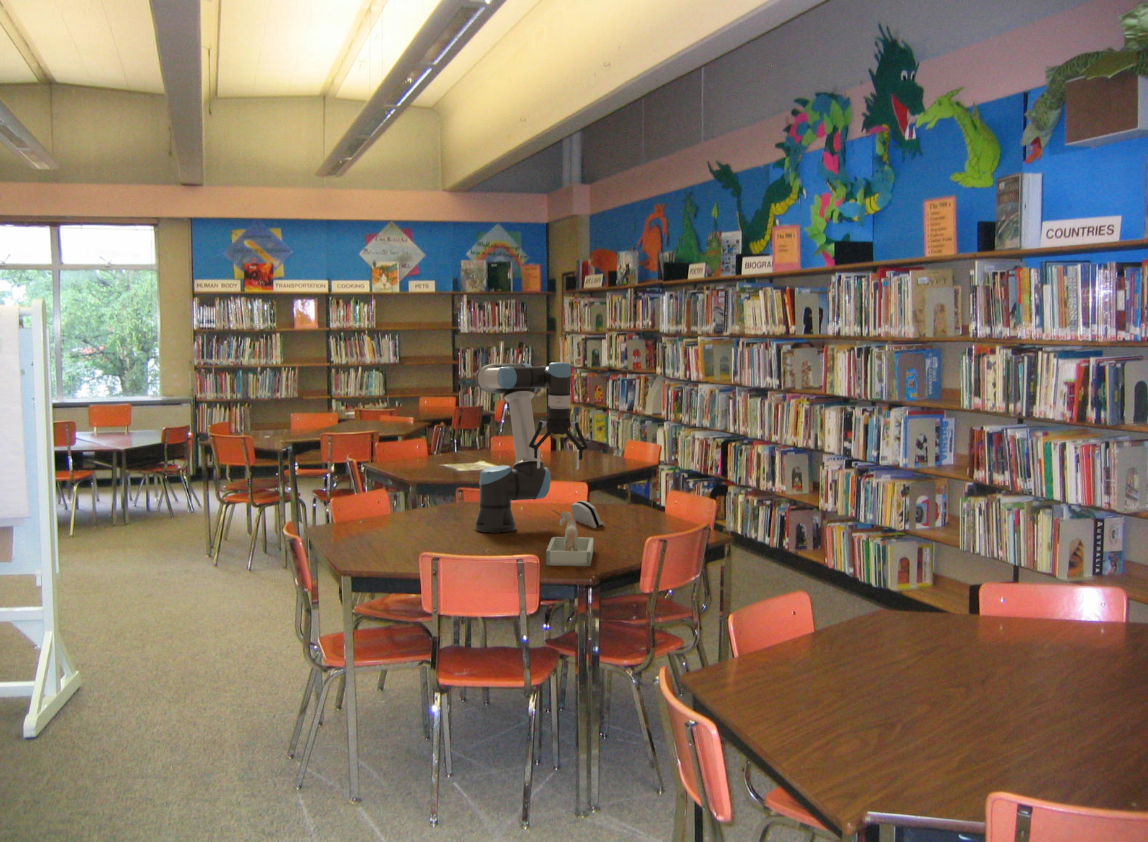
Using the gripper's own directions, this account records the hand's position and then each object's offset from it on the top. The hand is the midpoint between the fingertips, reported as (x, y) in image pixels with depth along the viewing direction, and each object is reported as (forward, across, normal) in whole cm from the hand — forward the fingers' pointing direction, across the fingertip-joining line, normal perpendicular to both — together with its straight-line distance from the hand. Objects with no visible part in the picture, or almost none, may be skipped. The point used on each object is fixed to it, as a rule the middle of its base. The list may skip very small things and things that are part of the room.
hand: (558, 468), depth 337 cm
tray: (+26, +6, -22) cm, 34 cm away
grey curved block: (+28, +8, +36) cm, 46 cm away
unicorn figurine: (+25, +4, -22) cm, 33 cm away
